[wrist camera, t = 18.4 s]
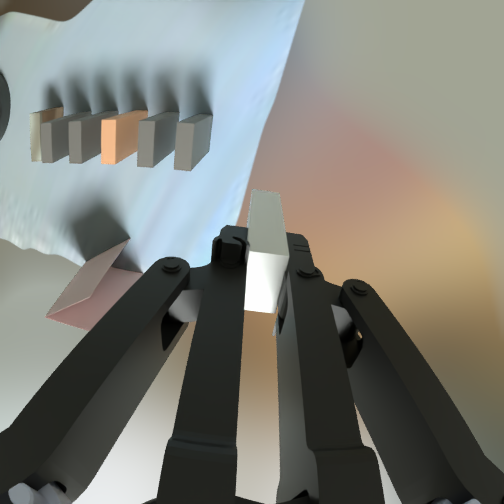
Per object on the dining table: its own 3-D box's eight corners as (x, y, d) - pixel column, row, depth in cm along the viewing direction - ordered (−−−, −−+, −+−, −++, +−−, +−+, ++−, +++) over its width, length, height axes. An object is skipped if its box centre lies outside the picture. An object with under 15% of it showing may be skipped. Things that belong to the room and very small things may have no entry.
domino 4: (195, 149, 39) (173, 169, 30) (199, 113, 36) (177, 122, 28) (209, 151, 39) (190, 171, 30) (213, 114, 36) (194, 123, 28)
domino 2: (106, 144, 38) (69, 163, 30) (107, 110, 36) (68, 121, 27) (117, 144, 38) (81, 163, 30) (118, 110, 36) (81, 121, 27)
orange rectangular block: (147, 110, 36) (116, 119, 27) (145, 145, 38) (115, 164, 30) (135, 110, 36) (101, 119, 27) (134, 145, 38) (101, 163, 30)
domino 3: (164, 147, 39) (137, 166, 30) (166, 111, 36) (138, 120, 27) (176, 148, 39) (152, 167, 30) (179, 112, 36) (155, 121, 27)
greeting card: (86, 266, 49) (46, 321, 36) (81, 229, 45) (33, 281, 32) (143, 277, 50) (112, 341, 37) (142, 239, 46) (104, 300, 33)
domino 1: (81, 144, 38) (42, 162, 29) (81, 111, 35) (40, 123, 27) (91, 144, 38) (52, 162, 29) (91, 111, 35) (51, 122, 27)
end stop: (54, 150, 38) (31, 161, 33) (53, 107, 35) (29, 113, 29) (63, 150, 38) (41, 161, 33) (63, 106, 35) (39, 112, 29)
